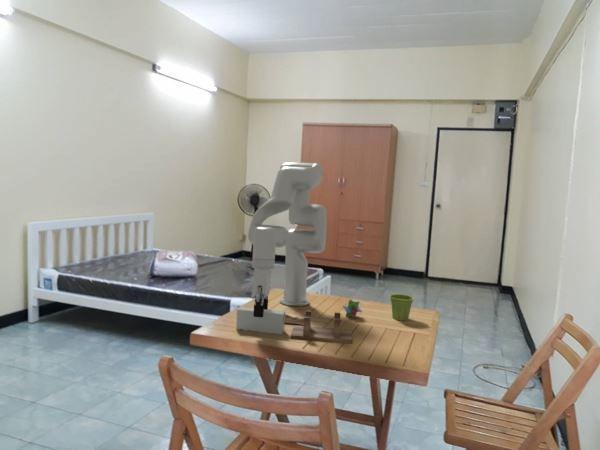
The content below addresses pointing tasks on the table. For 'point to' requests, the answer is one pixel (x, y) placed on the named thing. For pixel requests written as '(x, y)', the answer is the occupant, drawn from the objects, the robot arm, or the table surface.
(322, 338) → the wooden display stand
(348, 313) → the geometric puzzle
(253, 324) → the clay bar
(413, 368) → the table surface
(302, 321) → the wooden fragment
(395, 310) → the plant pot
